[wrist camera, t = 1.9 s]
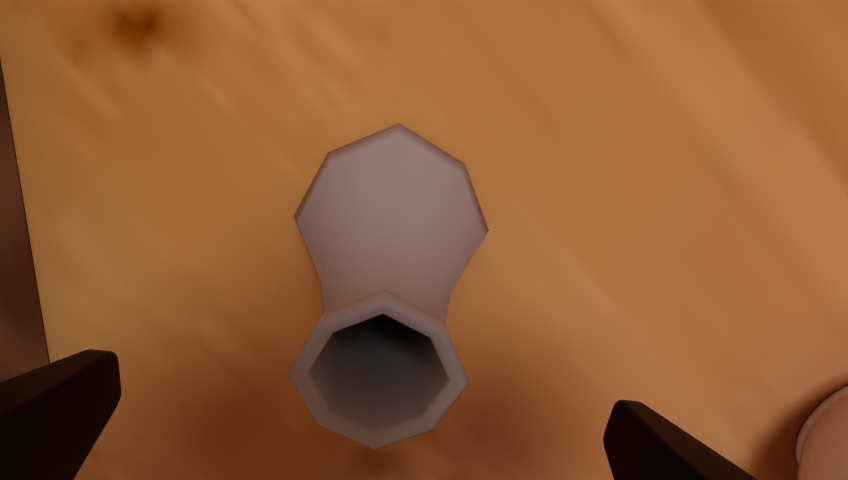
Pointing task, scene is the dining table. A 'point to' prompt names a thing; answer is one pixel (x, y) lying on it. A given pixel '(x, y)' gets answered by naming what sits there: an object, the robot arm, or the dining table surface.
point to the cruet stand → (16, 269)
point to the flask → (385, 285)
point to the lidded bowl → (825, 440)
